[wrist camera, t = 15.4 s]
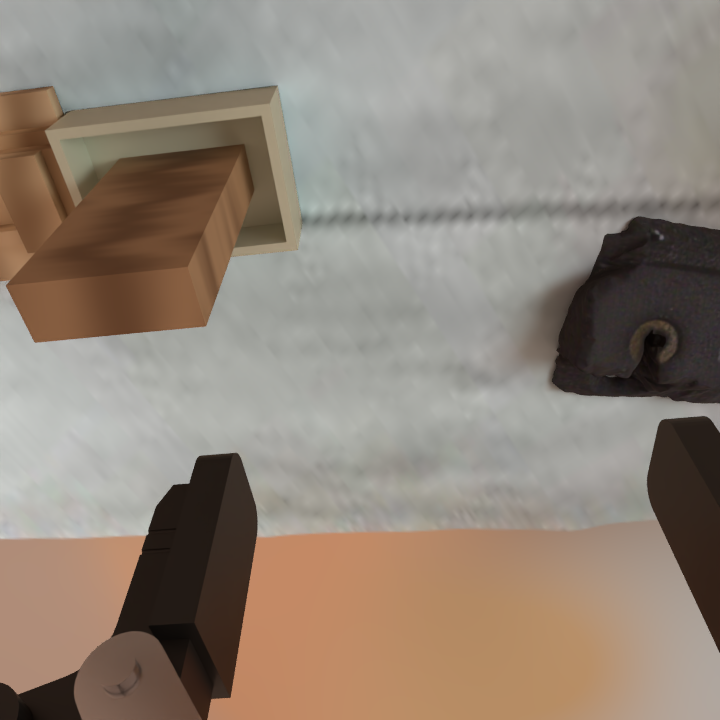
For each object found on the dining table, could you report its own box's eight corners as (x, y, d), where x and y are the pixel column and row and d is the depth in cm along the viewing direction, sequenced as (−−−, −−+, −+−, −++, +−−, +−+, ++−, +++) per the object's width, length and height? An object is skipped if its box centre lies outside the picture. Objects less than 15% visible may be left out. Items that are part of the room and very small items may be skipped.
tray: (277, 85, 39) (269, 103, 35) (302, 223, 44) (297, 249, 41) (70, 110, 40) (44, 130, 36) (119, 242, 45) (100, 270, 42)
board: (244, 143, 40) (187, 266, 27) (254, 190, 41) (205, 326, 29) (119, 158, 40) (5, 285, 27) (135, 203, 42) (34, 342, 29)
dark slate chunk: (780, 412, 55) (811, 452, 51) (533, 379, 53) (546, 418, 49) (898, 253, 46) (946, 287, 42) (605, 206, 44) (629, 236, 40)
